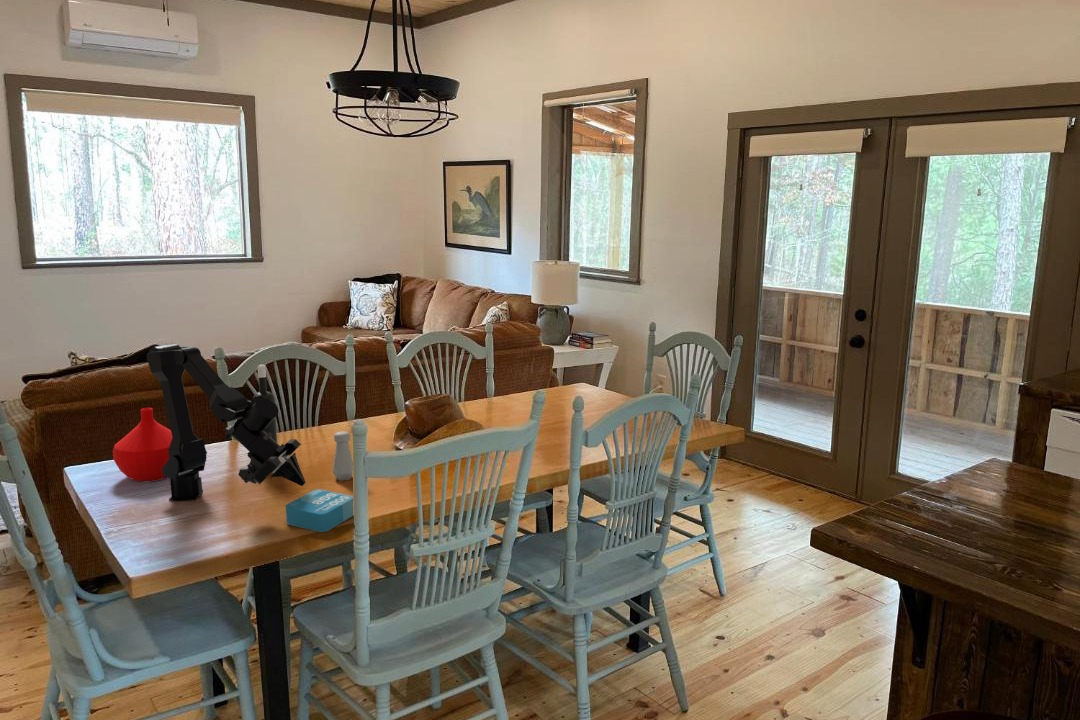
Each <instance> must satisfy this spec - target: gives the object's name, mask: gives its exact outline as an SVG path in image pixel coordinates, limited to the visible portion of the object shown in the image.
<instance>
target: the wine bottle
mask: <svg viewBox="0 0 1080 720" xmlns="http://www.w3.org/2000/svg"><path fill="white" fill-rule="evenodd" d="M266 367H267V366H266V364H259V365H257V377H258V388H259V391H258V392H256V393H255V394H253V397H252V399H253V398H254V397H255V396H258V395H262V396H263V398H264V399H268V400H270V401H272V402H273V403H275V404H276V399H275V396H274V394H273V393H272V392H271V391H268V390H267V389H268V388H267V387H268V386H267V369H266ZM276 418H277V417H276ZM276 418H275V419H274V420H273V421H272V422H271V423H270V424H269V425H268V426H267V427H266V429H265V430H263V431H265V432H266V433H267V434H268V433H269V432H270V433H272V434H273V435H272V436H271V438H272V439H273V440H274V441H275V442H277V443H278V433H277V419H276Z"/></svg>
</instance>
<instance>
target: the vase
mask: <svg viewBox="0 0 1080 720" xmlns="http://www.w3.org/2000/svg"><path fill="white" fill-rule="evenodd" d="M153 410H154V408H152V407H144V408H141V409H140V415H141V416H140V417H141V418H140V421H139V423H138V424H137V426H135V427H134V428H133V429H132V430H131V431H129V432H128V433H127V434H126V435H125V436H123V437H122V438H121V439H120V440H119V441H118V442H117V443H115V444H114V447H113V448H112V457H113V461H114V463H115V464H116V466H117V468H118V470H119V471H120V472H121V473H122V474H124V475H125V476H126V477H127V478H129V479H131V480H132V481H135V482H139V481H151V482H157V481H161V479H162V480H164V478H165V479H168V478H167V477H164V475H163V471H162V468H163V467H164V465H165V464H166V463H167V461H168V460H169V453H168V449H169V446H170V443H171V441H172V433H171V429H170V428H167V427H166V426H164V425H162V423H161V424H160V423H159V422H157V420H155V418H154V411H153ZM156 480H157V481H156Z"/></svg>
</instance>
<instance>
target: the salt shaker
mask: <svg viewBox="0 0 1080 720" xmlns="http://www.w3.org/2000/svg"><path fill="white" fill-rule="evenodd" d="M333 438H334V440H333V441H334V442H336V443H335V450H334V452H335V453H334V459H333V467H332V473H333V475H334V476H335V479H336V480H337V479H338V480H337V481H343V480H345V481H348V480H351V479H352V477H353V475H352V471H353V465H354V461H353V458H352V453H351V449H350V444H349V441H350V440H351V435H350V433H349V431H343V430H342V431H338V432H335V433H334V434H333Z"/></svg>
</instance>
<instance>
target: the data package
mask: <svg viewBox="0 0 1080 720" xmlns="http://www.w3.org/2000/svg"><path fill="white" fill-rule="evenodd" d="M353 502H354V497H353V496H352V495H349V494H344V493H340V492H334V491H330V490H324V489H314V490H311V491H310V492H307V493H306V494H303V495H302V496H300V497H298V498H296V499H294V500H292V501H290V502H288V503H287V504H286V505H285V515H286V517H285V518H286V524H288V525H289V526H293V527H297V528H300V529H301V528H302V529H305V530H309V531H313V532H317V533H325V532H329V531H330V530H332V529H333V528H335V527H337V526H339V525H340V524H342V523H344V522H345V521H347V520H348V519H350V518H352V517H353V516H354V515H353Z"/></svg>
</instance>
